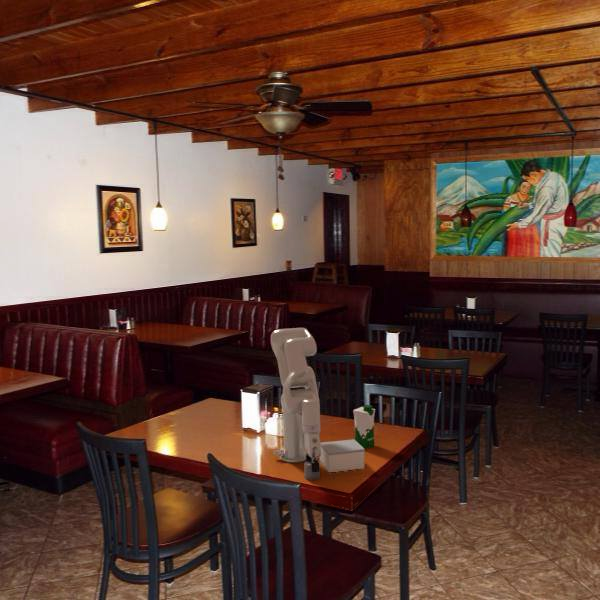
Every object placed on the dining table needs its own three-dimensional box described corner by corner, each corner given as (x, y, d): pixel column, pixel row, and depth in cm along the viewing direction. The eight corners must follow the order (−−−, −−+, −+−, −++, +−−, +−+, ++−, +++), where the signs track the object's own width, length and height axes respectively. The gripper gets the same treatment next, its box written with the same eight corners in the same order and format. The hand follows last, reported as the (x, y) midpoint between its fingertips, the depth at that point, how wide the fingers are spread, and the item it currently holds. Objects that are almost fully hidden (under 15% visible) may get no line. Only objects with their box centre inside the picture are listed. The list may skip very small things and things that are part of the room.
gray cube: (306, 481, 255) (306, 467, 254) (302, 475, 261) (302, 461, 260) (321, 479, 256) (321, 465, 256) (317, 473, 262) (317, 460, 262)
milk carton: (367, 450, 289) (366, 409, 287) (351, 446, 295) (350, 406, 293) (377, 445, 296) (376, 404, 294) (361, 441, 302) (361, 401, 300)
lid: (328, 454, 261) (328, 452, 261) (319, 444, 275) (319, 442, 275) (364, 450, 265) (364, 449, 265) (354, 441, 279) (354, 439, 279)
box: (328, 473, 262) (328, 455, 262) (320, 461, 276) (319, 444, 275) (364, 469, 266) (364, 451, 265) (354, 458, 280) (353, 441, 279)
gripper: (325, 432, 249) (326, 474, 250) (314, 422, 265) (315, 460, 267) (307, 434, 247) (309, 476, 248) (297, 423, 264) (299, 462, 265)
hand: (312, 468), depth 257 cm, fingers open, 9 cm apart
